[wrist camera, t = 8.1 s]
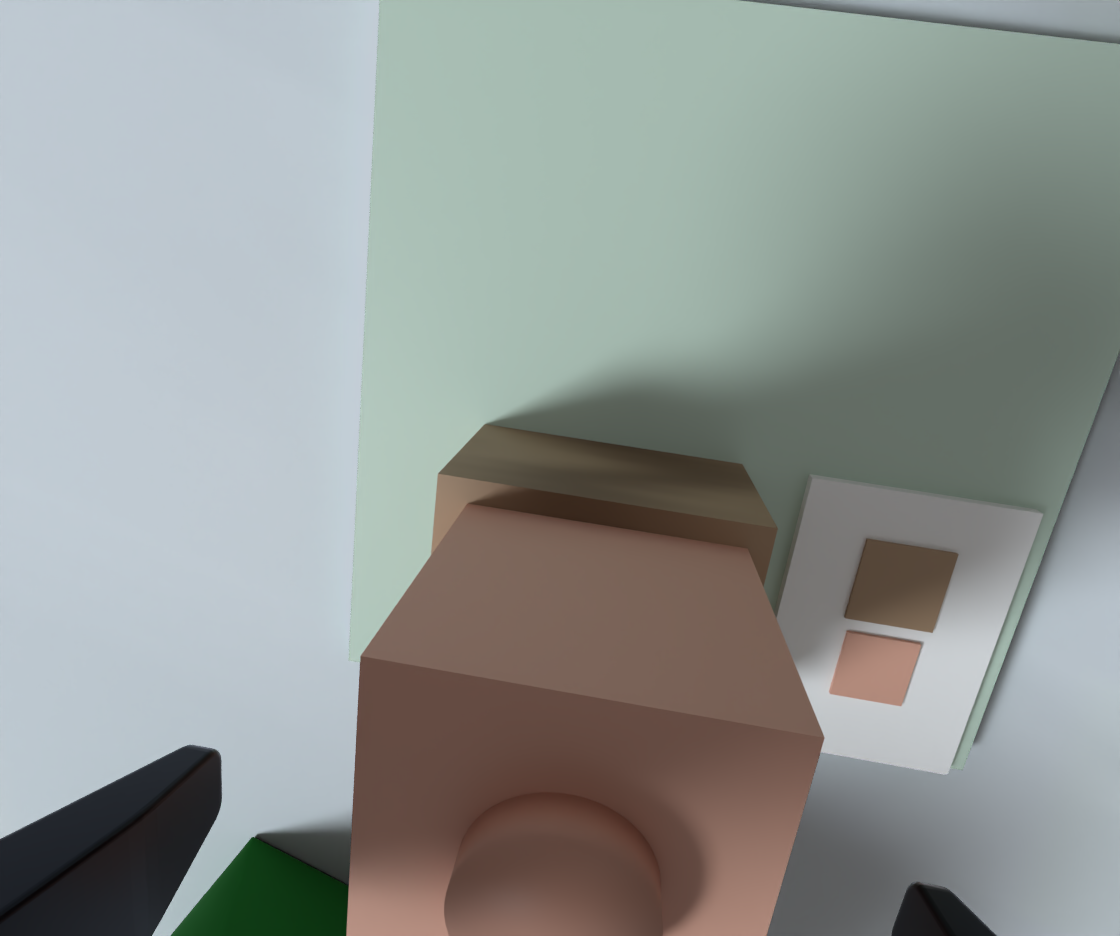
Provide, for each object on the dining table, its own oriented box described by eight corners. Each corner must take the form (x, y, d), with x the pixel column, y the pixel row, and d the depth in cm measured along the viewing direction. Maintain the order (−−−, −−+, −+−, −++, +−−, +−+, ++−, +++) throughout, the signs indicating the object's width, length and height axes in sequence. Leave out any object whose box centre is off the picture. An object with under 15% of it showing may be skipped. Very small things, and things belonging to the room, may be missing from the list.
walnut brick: (742, 464, 16) (777, 528, 12) (692, 688, 17) (709, 807, 13) (485, 423, 16) (437, 473, 12) (461, 647, 18) (414, 753, 14)
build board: (1195, 68, 13) (1248, 50, 12) (948, 748, 18) (970, 781, 17) (394, -25, 14) (374, -50, 13) (360, 644, 19) (342, 669, 18)
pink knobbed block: (747, 548, 12) (841, 778, 7) (694, 781, 13) (734, 1125, 8) (467, 503, 12) (339, 688, 7) (444, 735, 14) (324, 1037, 8)
